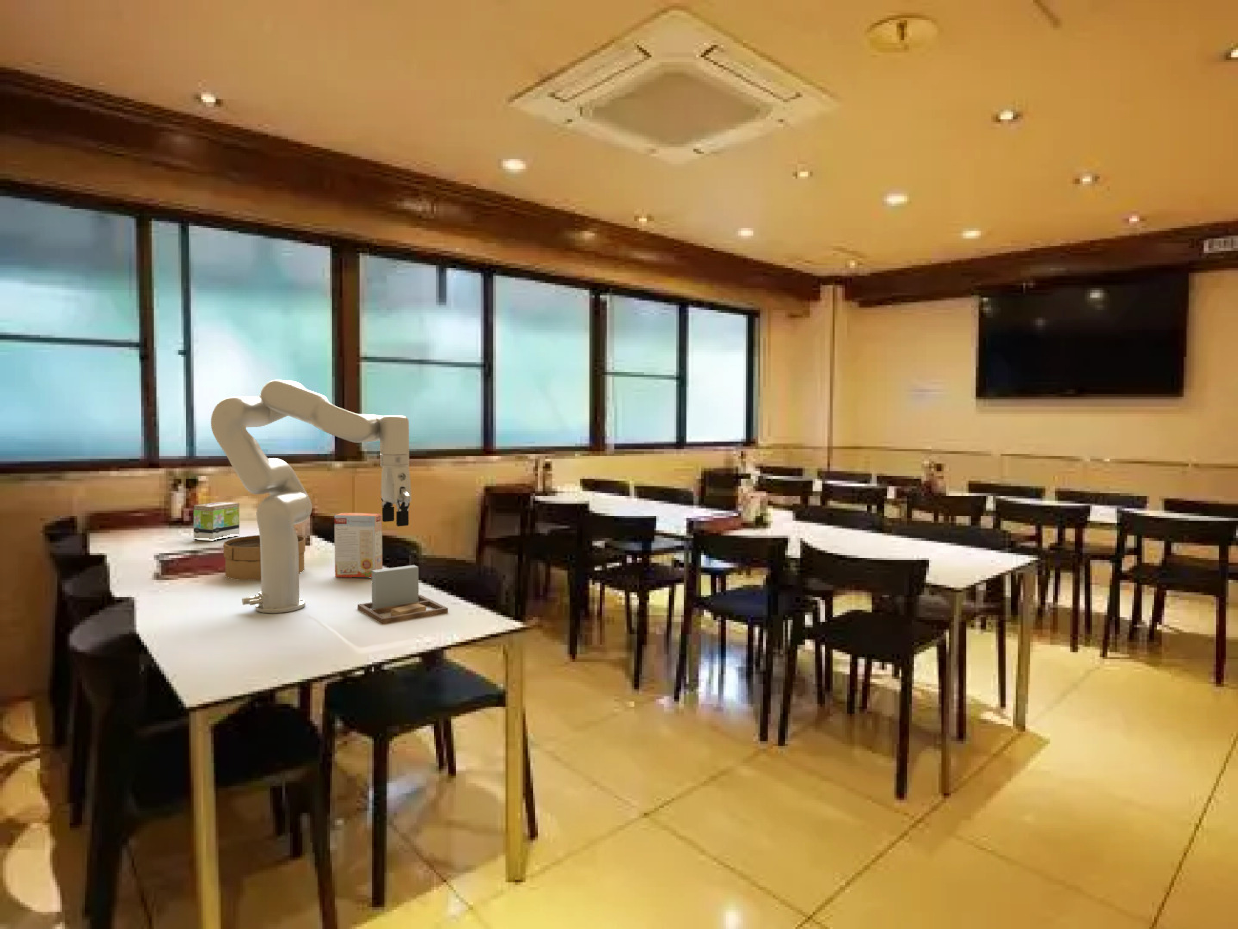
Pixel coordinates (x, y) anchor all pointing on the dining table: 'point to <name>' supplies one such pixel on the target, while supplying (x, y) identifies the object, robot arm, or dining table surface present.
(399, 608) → the upper offcut
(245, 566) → the steamer basket
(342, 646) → the dining table surface
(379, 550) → the cracker box
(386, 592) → the grey panel
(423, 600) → the frame
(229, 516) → the tea box
